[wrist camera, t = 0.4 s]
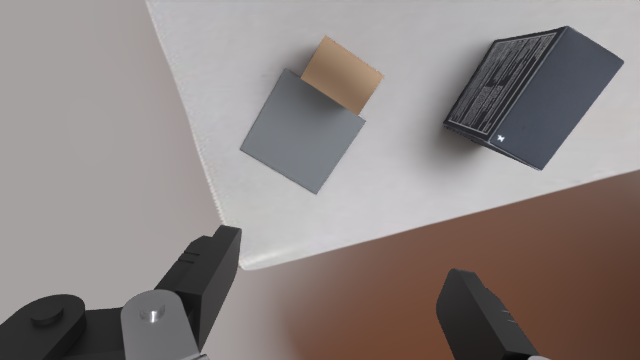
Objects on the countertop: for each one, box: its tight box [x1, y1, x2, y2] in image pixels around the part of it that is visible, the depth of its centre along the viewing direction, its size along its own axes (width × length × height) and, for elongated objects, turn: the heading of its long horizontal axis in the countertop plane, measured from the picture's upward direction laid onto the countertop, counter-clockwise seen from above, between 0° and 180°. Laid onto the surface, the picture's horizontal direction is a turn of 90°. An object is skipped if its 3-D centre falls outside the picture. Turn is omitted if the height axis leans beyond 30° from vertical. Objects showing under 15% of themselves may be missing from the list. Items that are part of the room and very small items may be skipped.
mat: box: [241, 68, 366, 194], centre depth 37 cm, size 11×11×1 cm
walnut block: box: [301, 35, 384, 116], centre depth 31 cm, size 4×6×9 cm, turn 58°
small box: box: [443, 26, 624, 171], centre depth 30 cm, size 11×6×10 cm, turn 154°
